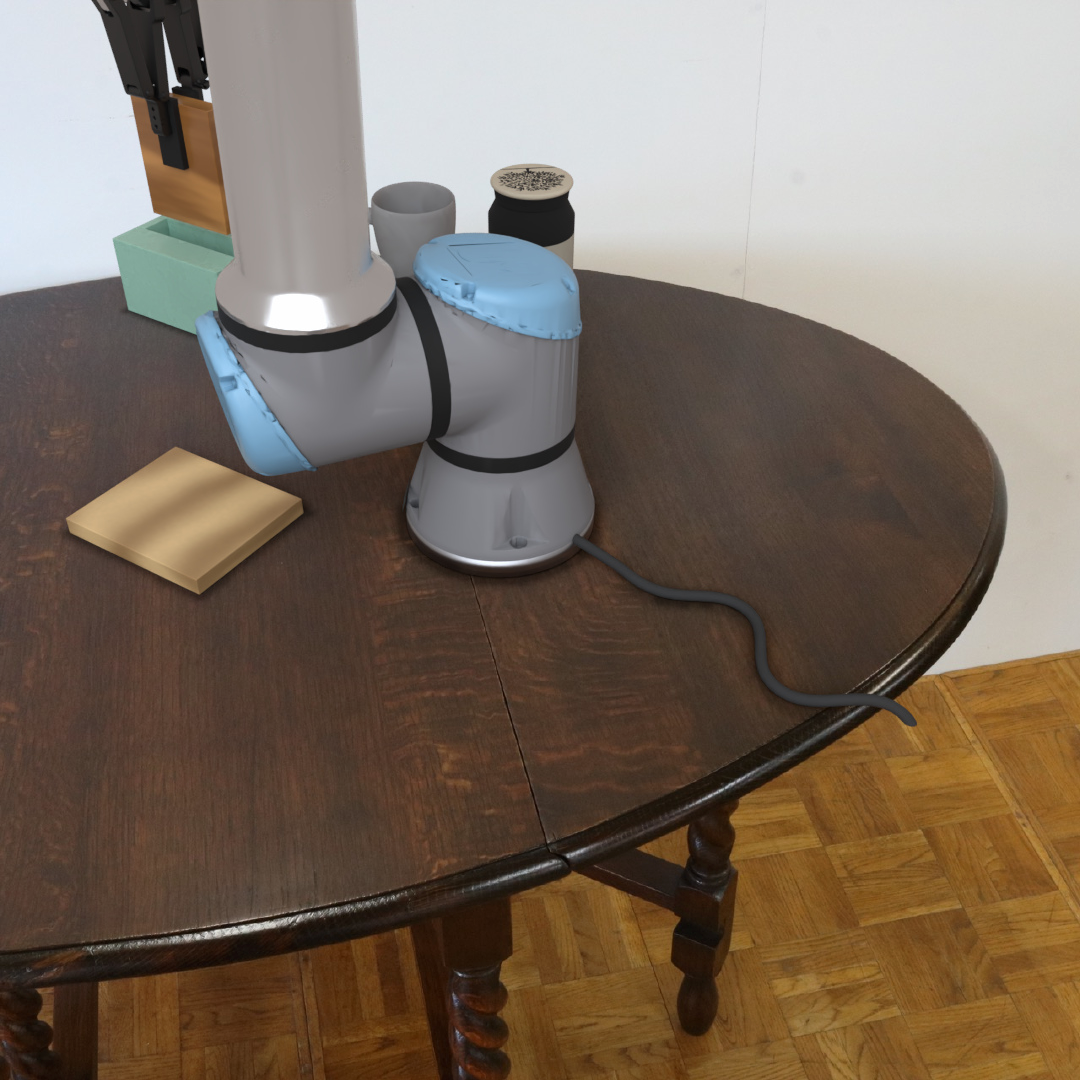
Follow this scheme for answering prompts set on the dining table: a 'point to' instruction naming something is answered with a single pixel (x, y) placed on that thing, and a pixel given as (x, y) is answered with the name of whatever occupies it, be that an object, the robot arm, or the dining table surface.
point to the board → (186, 518)
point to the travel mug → (534, 207)
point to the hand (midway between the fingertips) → (186, 161)
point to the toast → (192, 189)
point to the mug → (410, 220)
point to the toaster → (172, 270)
